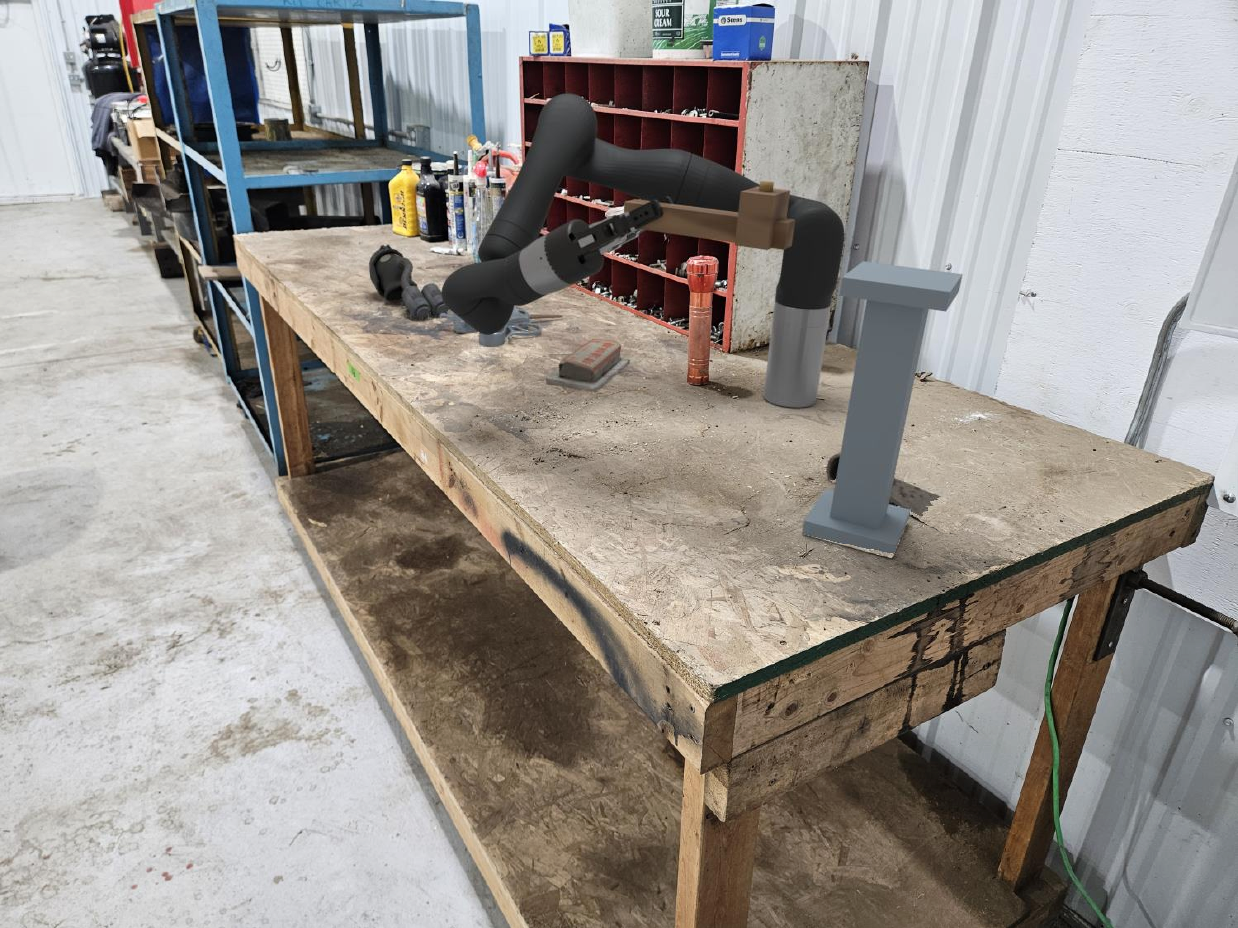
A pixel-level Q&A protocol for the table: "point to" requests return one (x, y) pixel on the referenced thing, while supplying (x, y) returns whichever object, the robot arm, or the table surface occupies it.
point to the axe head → (895, 491)
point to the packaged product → (589, 366)
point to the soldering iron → (515, 323)
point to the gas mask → (404, 284)
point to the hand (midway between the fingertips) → (665, 205)
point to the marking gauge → (731, 219)
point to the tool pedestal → (879, 402)
